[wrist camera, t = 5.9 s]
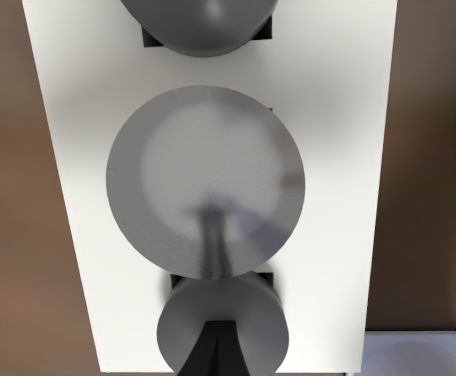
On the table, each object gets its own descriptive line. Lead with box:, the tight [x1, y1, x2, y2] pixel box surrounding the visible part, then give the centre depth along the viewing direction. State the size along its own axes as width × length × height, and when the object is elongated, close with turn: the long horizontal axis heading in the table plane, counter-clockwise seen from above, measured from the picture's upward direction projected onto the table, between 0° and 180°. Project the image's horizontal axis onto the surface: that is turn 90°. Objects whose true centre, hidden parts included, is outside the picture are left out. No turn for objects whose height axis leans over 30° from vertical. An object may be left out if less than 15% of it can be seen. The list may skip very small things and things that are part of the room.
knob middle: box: [106, 85, 305, 280], centre depth 10 cm, size 6×6×5 cm
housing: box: [22, 0, 397, 373], centre depth 13 cm, size 22×14×4 cm, turn 3°
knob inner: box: [156, 270, 289, 376], centre depth 14 cm, size 6×6×5 cm
